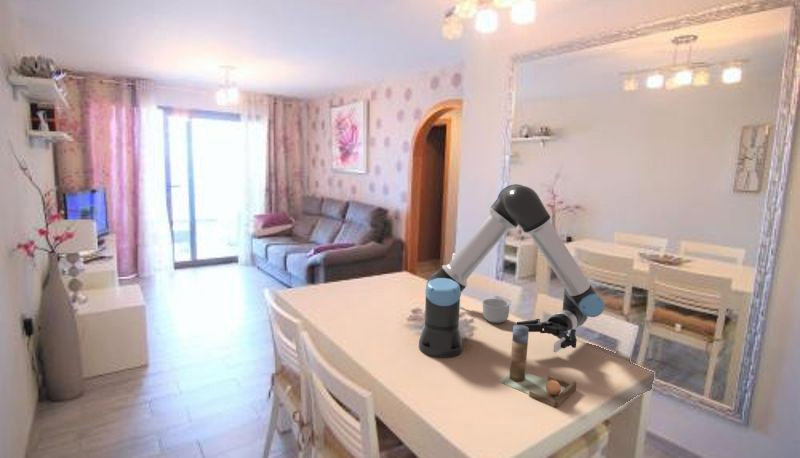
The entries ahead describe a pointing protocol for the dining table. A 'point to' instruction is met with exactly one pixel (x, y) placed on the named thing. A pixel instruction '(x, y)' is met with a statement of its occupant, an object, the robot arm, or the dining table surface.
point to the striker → (519, 353)
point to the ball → (553, 387)
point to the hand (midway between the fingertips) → (533, 341)
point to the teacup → (495, 310)
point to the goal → (542, 388)
